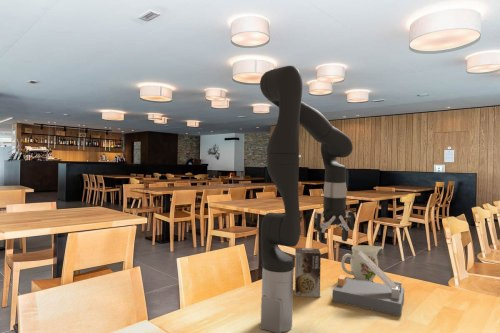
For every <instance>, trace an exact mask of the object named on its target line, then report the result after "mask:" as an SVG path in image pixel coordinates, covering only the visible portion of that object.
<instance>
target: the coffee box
mask: <svg viewBox="0 0 500 333" xmlns="http://www.w3.org/2000/svg"><path fill="white" fill-rule="evenodd" d="M294 252H295V254H294V255H295V256H294V258H295V260H294V296H295V297H310V298H311V297H312V298H313V297H314V298H321V267H322V266H321V264H322V263H321V261H322V260H321V258H322V256H321V255H322V253H321V251H320V249H319V248H313V247H312V248H311V247H310V248H309V247H307V248H306V247H295V250H294Z"/></svg>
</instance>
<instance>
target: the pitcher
mask: <svg viewBox="0 0 500 333" xmlns="http://www.w3.org/2000/svg"><path fill="white" fill-rule="evenodd" d="M383 248H384V247H383V246H380V245H368V244H367V245H365V244H363V245H362V244H359V245H353V246H351V252H352V254H350V253H345V254H344V255H343V256H342V258H341V261H340V262H341V263H340V264H341V268H342V270H343V271H344V273H346V274H347V275H351V276H353V277H354V279H359V280H365V281H370V282H373V280H375V278H376V277H377V275H376V274H375V273H374V272H373V271H372V270H371V269H370V268H369V267H368V266H367V265H366V264H365V263H364V262H363V261H362V260H361V259H360V258H359V257H358V256H357V254H358V252H359V251H360V250H361V251H362V252H363V253H364V254H365V255H366V256H367V257H369V258H370V259H371V260H372V261H373V262H374V263H375V264H376V265H377V266H378V267H379V259H378V253H379V252H380V251H381V250H382V249H383ZM347 258H350V260H349V261H350V264H349V265H350V270H351V271H350V270H348V269H347V268H346V266H345V261H346V259H347Z"/></svg>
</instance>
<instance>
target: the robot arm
mask: <svg viewBox="0 0 500 333" xmlns="http://www.w3.org/2000/svg"><path fill="white" fill-rule="evenodd" d="M259 88H260V91H261V93H262V95H263V96H264V97H265V98H266V100H268V101H269V102H270V103H272V104H273V105H275V106H276V107H277V108H278V116H277V121H276V124H275V126H274V128H273V131H272V133H271V135H270V137H269V140H268V143H267V148H266V168H267V169H266V170H267V173H268V175H269V176H270V179H271V180H272V182H273V184H274V186H275V187H276V189H277V191H278V192H279V194H280V196H281V199H282V202H283V207H284V213H280V212H267V213H266V214H264V216H263V218H262V222H261V226H260V228H261V230H260V238H261V239H260V242H261V243H260V244H261V245H260V246H261V260H262V274H261V276H262V277H261V280H262V281H261V303H260V329H261V330H265V331H268V332H270V333H271V332H272V333H284V332H287V331H289V330H291V329H292V328H293V304H294V303H293V302H294V299H293V298H294V277H295V260H294V259H293V257H292V256H290V255H289V254H287V253H286V252H284V251H283V250H282V249H281V248H280V246H283V247H290V248H293V247H296V246H297V245H298V243H299V242H300V241H299V240H300V237H301V214H300V213H301V212H300V200H299V199H300V198H299V175H300V174H299V172H300V146H299V145H300V144H299V143H300V140H299V139H300V125H301V127H303V129H304V130H305V131H306V132H307V133H308V134H309V135H310V136H311V137H312V138H313V139H314V140H315V141H316V142H318V143H320V154H321V157H322V163H323V166H324V172H325V173H324V184H323V203H322V205H323V206H322V208H323V211H322V212H319V211H315V212H314V217H313V218H314V219H313V229H314V230H315V231H316V232H318V241H319V242H320V243H321V244H325V239H326V232H325V231H326V230H327V229H328V228H329V227H330V226H336V225H337V226H339V225H340V227H341V228H342V229H341V241H342V242H347V240H348V239H349V231H350V230H352V229H354V228H355V218H354V217H355V213H354V211H351V210H349V209H348V210H347V211H346V208H347V168H346V165H344V164H341V163H339V162H338V159H337V158H347V157H350V155H351V154H352V152H353V148H354V147H353V142H352V140H351V138H350V137H349V136H348V134H346V133H344V132H343V131H341V130H340V129H338V128H337V127H335V126H333V125H332V124H331V122H330V120H328V119H327V118H326V117H325V116H324V114H322V112H320V111H319V110H317V109H316V108H314V107H312V106H311V105H310V104H307V103H305V102H304V101H302V97H303V79H302V74H301V72H300V71H299V69H298V68H297V67H296V66H295V65H286V66H280V67H277V68H273V69H270V70H268V71H265V72H264V73H263V74H262V76H261V78H260V80H259ZM345 218H346V220H345ZM321 220H322V221H321Z"/></svg>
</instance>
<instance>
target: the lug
mask: <svg viewBox="0 0 500 333" xmlns="http://www.w3.org/2000/svg"><path fill="white" fill-rule="evenodd" d="M347 275H348V274H347ZM347 275H346V274H340V275H339V277H338V278H337V284H338V285H339V286H344V285H345V283H346V281H347V277H348V276H347Z"/></svg>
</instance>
